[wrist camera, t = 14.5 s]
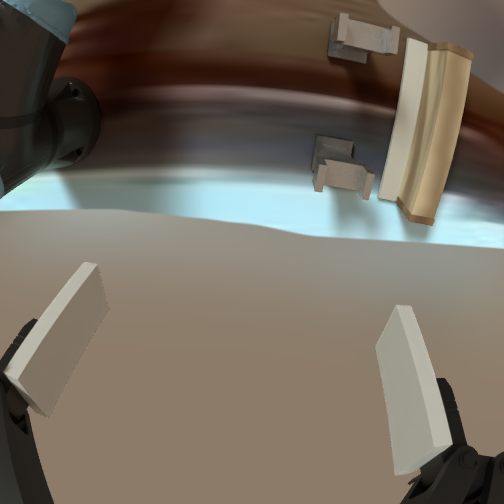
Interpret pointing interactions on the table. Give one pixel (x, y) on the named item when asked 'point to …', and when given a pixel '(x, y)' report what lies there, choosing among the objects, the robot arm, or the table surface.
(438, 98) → the rail
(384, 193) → the mat
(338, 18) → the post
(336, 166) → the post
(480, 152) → the table surface
